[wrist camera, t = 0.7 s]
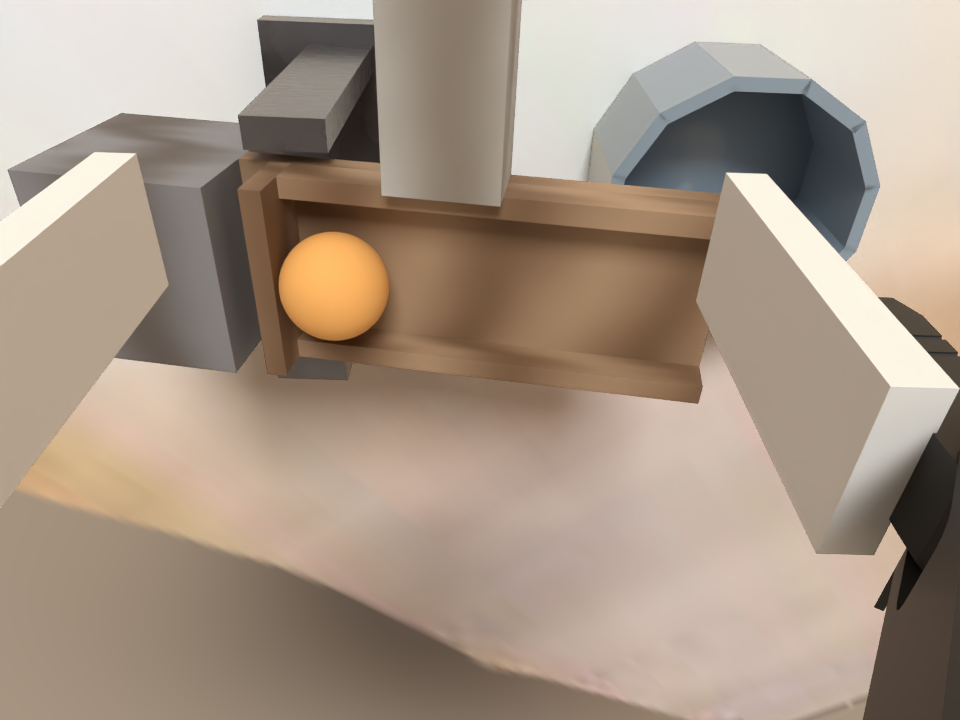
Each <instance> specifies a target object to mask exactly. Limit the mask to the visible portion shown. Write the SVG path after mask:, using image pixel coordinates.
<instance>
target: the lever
mask: <svg viewBox="0 0 960 720" xmlns="http://www.w3.org/2000/svg"><path fill="white" fill-rule="evenodd" d="M521 4H522V0H373V14H374V36H375V59H376V81H377V103H378V126H379V148H380V163H372V162H360V161H349V160H338V159H327V158H315V157H304V156H293V155H283V151H261V150H243V145H242V139H241V132H240V126H239V123H232V122H220V121H208V120H196V119H184V118H173V117H161V116H149V115H137V114H125V113H121V114H119V115H117V116H115V117H113V118H111V119H109V120H107V121H105V122H103V123H101V124H99V125H97V126H95V127H93V128H91V129H89V130H87V131H85V132H82V133H80V134H78V135H76V136H74V137H72V138H70V139H68V140H66V141H64V142H62V143H60V144H58V145H56V146H54V147H52V148H50V149H48V150H46V151H44V152H42V153H40V154H38V155H36V156H34V157H32V158H30V159H28V160H26V161H24V162H22V163H20V164H18V165H16V166H14V167H12V168H10V169H8V172H9V175H10V178H11V181H12V184H13V187H14V190H15V193H16V195H17V198H18V201H19V204H20V207H21V206H22V205H24V204H25V203H26V202H28V201H29V200H30V199H32V198H33V197H34V196H36V195H37V194H39V193H40V192H41V191H43V190H44V189H45V188H47V187H48V186H49V185H51V184H52V183H53V182H55V181H56V180H58V179H59V178H60V177H62V176H63V175H64V174H66V173H67V172H68V171H70V170H71V169H72V168H74V167H75V166H76V165H78V164H79V163H81V162H82V161H83V160H85V159H86V158H87V157H89V156H90V155H91V154H93V153H94V152H107V153H136V154H137V158H138V162H139V166H140V170H141V174H142V178H143V182H144V186H145V190H146V195H147V199H148V203H149V207H150V211H151V215H152V219H153V223H154V227H155V231H156V235H157V239H158V243H159V247H160V251H161V255H162V260H163V264H164V268H165V272H166V276H167V280H168V284H169V285H168V287H167V288H166V289H165V291H164V292H163V293H162V295H161V296H160V297H159V299H158V300H157V301H156V303H155V304H154V305H153V307H152V308H151V309H150V311H149V312H148V313H147V315H146V316H145V317H144V319H143V320H142V321H141V323H140V324H139V325H138V326H137V328H136V329H135V330H134V332H133V333H132V334H131V336H130V337H129V338H128V340H127V341H126V342H125V344H124V345H123V346H122V348H121V349H120V350H119V352H118V353H117V354H116V356H115V357H114V358H120V359H128V360H136V361H144V362H152V363H160V364H168V365H177V366H185V367H193V368H201V369H209V370H217V371H225V372H233V373H237V371H238V370H239V369H240V367H241V366H242V365H243V363H244V362H245V361H246V359H247V358H248V356H249V355H250V354H251V352H252V351H253V350H254V348H255V347H256V346H257V344H258V343H259V342H260V340H261V339H262V344H263V350H264V356H265V362H266V368H267V374H276V375H284V376H287V375H288V373H289V372H290V370H291V369H292V367H293V366H294V364H295V362H296V361H297V359H298V358H299V356H302V357H311V358H319V359H328V360H336V361H344V362H353V363H361V364H369V365H378V366H386V367H395V368H403V369H411V370H420V371H428V372H437V373H445V374H453V375H462V376H470V377H478V378H487V379H495V380H504V381H512V382H520V383H529V384H537V385H545V386H554V387H562V388H571V389H579V390H587V391H596V392H604V393H613V394H621V395H629V396H638V397H646V398H654V399H663V400H671V401H680V402H688V403H696V404H698V403H699V399H700V395H701V391H702V381H701V375H700V369H699V364H700V360H701V357H702V353H703V349H704V345H705V341H706V337H707V333H708V329H709V327H708V325H707V323H706V321H705V319H704V317H703V315H702V313H701V311H700V309H699V306H698V304H697V302H696V299H697V295H698V290H699V286H700V282H701V277H702V273H703V269H704V264H705V260H706V256H707V252H708V247H709V243H710V239H711V234H712V230H713V226H714V222H715V217H716V213H717V209H718V204H719V200H720V196H721V194H720V193H709V192H698V191H687V190H675V189H664V188H653V187H642V186H630V185H619V184H608V183H597V182H585V181H574V180H563V179H552V178H540V177H529V176H518V175H511V166H512V150H513V134H514V117H515V101H516V85H517V69H518V53H519V37H520V21H521ZM323 232H342V233H347V234H351V235H353V236H356V237H358V238H360V239H362V240H363V241H365V242H366V243H368V244H369V245H370V246H371V247H372V248H373V249H374V250H375V251H376V252H377V253H378V255H379V256H380V258H381V259H382V261H383V263H384V265H385V268H386V270H387V274H388V279H389V296H388V301H387V304H386V307H385V309H384V311H383V313H382V315H381V316H380V318H379V319H378V320H377V322H376V323H375V324H374V325H373V326H372V327H371V328H370V329H368V330H367V331H365V332H364V333H362V334H360V335H358V336H356V337H353V338H350V339H346V340H339V341H333V340H324V339H320V338H316V337H314V336H311V335H309V334H308V333H306V332H304V331H303V330H301V329H300V328H299V327H298V326H296V325H295V324H294V323H293V322H292V320H291V319H290V318H289V316H288V315H287V313H286V311H285V309H284V307H283V305H282V302H281V300H280V295H279V275H280V271H281V268H282V265H283V263H284V260H285V259H286V257H287V256H288V254H289V253H290V251H291V250H292V249H293V248H294V247H295V246H296V245H297V244H299V243H300V242H301V241H303V240H304V239H306V238H308V237H310V236H312V235H315V234H319V233H323Z"/></svg>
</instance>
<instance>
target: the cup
mask: <svg viewBox="0 0 960 720" xmlns="http://www.w3.org/2000/svg"><path fill="white" fill-rule="evenodd" d="M726 173H753V174H767V175H768V176H769V177H770V178H771V179H772V180H773V181H774V182H775V184H776V185H777V186H778V187H779V188H780V189H781V190H782V191H783V193H784V194H785V195H786V196H787V197H788V198H789V199H790V200H791V201H792V203H793V204H794V205H795V206H796V207H797V208H798V209H799V210H800V211H801V213H802V214H803V215H804V216H805V217H806V218H807V219H808V220H809V221H810V223H811V224H812V225H813V226H814V227H815V228H816V229H817V230H818V231H819V233H820V234H821V235H822V236H823V237H824V238H825V239H826V240H827V241H828V243H829V244H830V245H831V246H832V247H833V248H834V249H835V250H836V251H837V253H838V254H839V255H840V256H841V257H842V258H843V259H844V260H845V262H846V261H847V260H848V259H849V258H850V257H851V256H852V255H853V254H854V253H855V252H856V250H857V248H858V245H859V242H860V240H861V237H862V234H863V231H864V229H865V226H866V223H867V221H868V218H869V215H870V212H871V210H872V207H873V204H874V202H875V199H876V196H877V193H878V191H879V188H880V183H879V178H878V174H877V169H876V165H875V161H874V156H873V152H872V147H871V143H870V138H869V134H868V129H867V125H866V121H865V120H863V119H862V118H861V117H859V116H858V115H857V114H855V113H854V112H853V111H852V110H850V109H849V108H848V107H846V106H845V105H844V104H843V103H841V102H840V101H839V100H838V99H836V98H835V97H834V96H832V95H831V94H830V93H829V92H827V91H826V90H825V89H823V88H822V87H821V86H820V85H818V84H817V83H816V82H815V81H813V80H812V79H811V78H809V77H808V76H806V75H805V74H803V73H802V72H800V71H799V70H797V69H796V68H794V67H793V66H792V65H790V64H789V63H787V62H786V61H784V60H783V59H781V58H780V57H778V56H777V55H775V54H774V53H772V52H771V51H769V50H768V49H766V48H765V47H763V46H762V45H757V44H733V43H708V42H694V43H692V44H690V45H688V46H686V47H684V48H682V49H680V50H678V51H676V52H675V53H673V54H671V55H669V56H667V57H665V58H663V59H661V60H659V61H657V62H655V63H653V64H651V65H649V66H648V67H646V68H644V69H642V70H640V71H638V72H636V73H634V74H633V75H632V76H631V78H630V79H629V80H628V82H627V83H626V85H625V86H624V87H623V89H622V90H621V92H620V93H619V94H618V96H617V97H616V99H615V100H614V101H613V103H612V104H611V106H610V107H609V108H608V110H607V111H606V113H605V114H604V115H603V117H602V118H601V120H600V121H599V122H598V124H597V125H596V127H595V128H594V133H593V141H592V149H591V157H590V165H589V173H588V181H587V182H597V183H608V184H619V185H630V186H642V187H653V188H664V189H675V190H687V191H698V192H709V193H720V194H721V191H722V187H723V183H724V179H725V174H726Z"/></svg>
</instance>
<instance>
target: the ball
mask: <svg viewBox="0 0 960 720" xmlns="http://www.w3.org/2000/svg"><path fill="white" fill-rule="evenodd" d="M279 295H280V300H281V302H282V305H283V307H284V309H285V311H286V313H287V315H288V316H289V318H290V319H291V320H292V322H293V323H294V324H295V325H296V326H298V327H299V328H300V329H301V330H303V331H304V332H306V333H308V334H309V335H311V336H314V337H316V338H320V339H324V340H333V341H339V340H346V339H350V338H353V337H356V336H358V335H360V334H362V333H364V332H365V331H367V330H368V329H370V328H371V327H372V326H373V325H374V324H375V323H376V322H377V320H378V319H379V318H380V316H381V315H382V313H383V311H384V309H385V307H386V304H387V301H388V296H389V279H388V274H387V270H386V268H385V265H384V263H383V261H382V259H381V258H380V256H379V255H378V253H377V252H376V251H375V250H374V249H373V248H372V247H371V246H370V245H369V244H368V243H366V242H365V241H363V240H362V239H360V238H358V237H356V236H353V235H351V234H347V233H342V232H323V233H319V234H315V235H312V236H310V237H308V238H306V239H304V240H303V241H301V242H300V243H299V244H297V245H296V246H295V247H294V248H293V249H292V250H291V251H290V253H289V254H288V256H287V257H286V259H285V260H284V263H283V265H282V268H281V271H280V275H279Z"/></svg>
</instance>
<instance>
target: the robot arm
mask: <svg viewBox="0 0 960 720" xmlns="http://www.w3.org/2000/svg"><path fill="white" fill-rule="evenodd" d="M168 285H169V284H168V280H167V276H166V272H165V268H164V264H163V260H162V255H161V251H160V247H159V243H158V239H157V235H156V231H155V227H154V223H153V219H152V215H151V211H150V207H149V203H148V199H147V195H146V190H145V186H144V182H143V178H142V174H141V170H140V166H139V162H138V158H137V154H136V153H107V152H94V153H93V154H91V155H90V156H89V157H87V158H86V159H85V160H83V161H82V162H81V163H79V164H78V165H76V166H75V167H74V168H72V169H71V170H70V171H68V172H67V173H66V174H64V175H63V176H62V177H60V178H59V179H58V180H56V181H55V182H53V183H52V184H51V185H49V186H48V187H47V188H45V189H44V190H43V191H41V192H40V193H39V194H37V195H36V196H34V197H33V198H32V199H30V200H29V201H28V202H26V203H25V204H24V205H22V206H21V207H20V208H18V209H17V210H15V211H14V212H13V213H11V214H10V215H9V216H7V217H6V218H5V219H3V220H2V221H1V222H0V508H1V507H2V506H3V504H4V503H5V502H6V500H7V499H8V498H9V496H10V495H11V494H12V492H13V491H14V490H15V488H16V487H17V486H18V484H19V483H20V482H21V480H22V479H23V478H24V476H25V475H26V474H27V472H28V471H29V470H30V468H31V467H32V466H33V465H34V463H35V462H36V461H37V459H38V458H39V457H40V455H41V454H42V453H43V451H44V450H45V449H46V447H47V446H48V445H49V443H50V442H51V441H52V439H53V438H54V437H55V435H56V434H57V433H58V431H59V430H60V429H61V427H62V426H63V425H64V423H65V422H66V421H67V419H68V418H69V417H70V415H71V414H72V413H73V411H74V410H75V409H76V407H77V406H78V405H79V403H80V402H81V401H82V399H83V398H84V397H85V395H86V394H87V393H88V392H89V390H90V389H91V388H92V386H93V385H94V384H95V382H96V381H97V380H98V378H99V377H100V376H101V374H102V373H103V372H104V370H105V369H106V368H107V366H108V365H109V364H110V362H111V361H112V360H113V358H114V357H115V356H116V354H117V353H118V352H119V350H120V349H121V348H122V346H123V345H124V344H125V342H126V341H127V340H128V338H129V337H130V336H131V334H132V333H133V332H134V330H135V329H136V328H137V326H138V325H139V324H140V323H141V321H142V320H143V319H144V317H145V316H146V315H147V313H148V312H149V311H150V309H151V308H152V307H153V305H154V304H155V303H156V301H157V300H158V299H159V297H160V296H161V295H162V293H163V292H164V291H165V289H166V288H167V287H168ZM696 302H697V304H698V306H699V309H700V311H701V313H702V315H703V317H704V319H705V321H706V323H707V325H708V327H709V329H710V332H711V334H712V336H713V338H714V340H715V342H716V344H717V346H718V348H719V350H720V353H721V355H722V357H723V359H724V361H725V363H726V365H727V367H728V369H729V371H730V374H731V376H732V378H733V380H734V382H735V384H736V386H737V388H738V390H739V392H740V395H741V397H742V399H743V401H744V403H745V405H746V407H747V409H748V411H749V413H750V416H751V418H752V420H753V422H754V424H755V426H756V428H757V430H758V432H759V434H760V437H761V439H762V441H763V443H764V445H765V447H766V449H767V451H768V453H769V455H770V458H771V460H772V462H773V464H774V466H775V468H776V470H777V472H778V474H779V476H780V479H781V481H782V483H783V485H784V487H785V489H786V491H787V493H788V495H789V497H790V499H791V502H792V504H793V506H794V508H795V510H796V512H797V514H798V516H799V518H800V520H801V523H802V525H803V527H804V529H805V531H806V533H807V535H808V537H809V539H810V541H811V544H812V546H813V548H814V550H815V552H816V554H851V555H874V554H875V552H876V550H877V548H878V546H879V544H880V542H881V540H882V538H883V536H884V535H885V533H886V531H887V529H888V527H889V525H890V523H892V525H893V526H894V528H895V530H896V531H897V533H898V535H899V536H900V538H901V540H902V541H903V543H904V544H905V546H906V550H905V552H904V553H903V555H902V557H901V559H900V561H899V563H898V564H897V566H896V568H895V570H894V572H893V574H892V575H891V577H890V579H889V581H888V583H887V584H886V586H885V588H884V590H883V592H882V594H881V595H880V597H879V599H878V601H877V603H876V604H875V606H874V607H875V608H877V609H880V610H882V611H884V609H885V608H886V606H887V608H886V613H885V618H884V623H883V627H882V632H881V637H880V641H879V646H878V651H877V656H876V660H875V665H874V670H873V675H872V679H871V684H870V689H869V693H868V698H867V703H866V708H865V712H864V717H863V720H960V357H958V356H957V354H958V352H957V351H956V350H955V349H954V348H953V347H952V346H951V345H950V344H949V343H948V342H947V341H946V340H942V339H941V337H942V335H941V334H940V333H939V332H938V331H937V330H936V329H935V328H934V327H933V326H932V325H931V324H930V323H929V322H928V321H927V320H926V319H925V318H924V317H923V316H922V315H921V314H919V313H917V312H916V311H914V310H912V309H911V308H909V307H907V306H905V305H904V304H902V303H900V302H899V301H897V300H895V299H894V298H883V297H877V296H876V295H875V294H874V293H873V292H872V290H871V289H870V288H869V287H868V286H867V285H866V284H865V283H864V282H863V280H862V279H861V278H860V277H859V276H858V275H857V274H856V273H855V272H854V270H853V269H852V268H851V267H850V266H849V265H848V264H847V263H846V262H845V260H844V259H843V258H842V257H841V256H840V255H839V254H838V253H837V251H836V250H835V249H834V248H833V247H832V246H831V245H830V244H829V243H828V241H827V240H826V239H825V238H824V237H823V236H822V235H821V234H820V233H819V231H818V230H817V229H816V228H815V227H814V226H813V225H812V224H811V223H810V221H809V220H808V219H807V218H806V217H805V216H804V215H803V214H802V213H801V211H800V210H799V209H798V208H797V207H796V206H795V205H794V204H793V203H792V201H791V200H790V199H789V198H788V197H787V196H786V195H785V194H784V193H783V191H782V190H781V189H780V188H779V187H778V186H777V185H776V184H775V182H774V181H773V180H772V179H771V178H770V177H769V176H768V175H767V174H753V173H726V174H725V179H724V183H723V187H722V191H721V196H720V200H719V204H718V209H717V213H716V217H715V222H714V226H713V230H712V234H711V239H710V243H709V247H708V252H707V256H706V260H705V264H704V269H703V273H702V277H701V282H700V286H699V290H698V295H697V299H696Z"/></svg>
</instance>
